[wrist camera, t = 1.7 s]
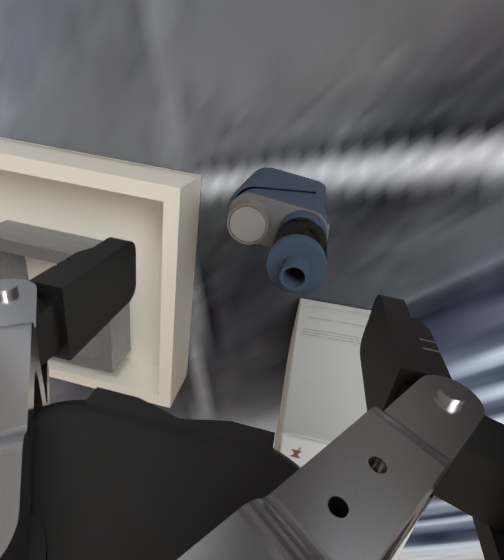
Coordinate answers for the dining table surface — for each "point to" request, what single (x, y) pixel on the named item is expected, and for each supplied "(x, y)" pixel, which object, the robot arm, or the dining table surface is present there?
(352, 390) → the supplement box
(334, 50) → the dining table surface
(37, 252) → the inlet socket
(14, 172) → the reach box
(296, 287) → the vaping device
